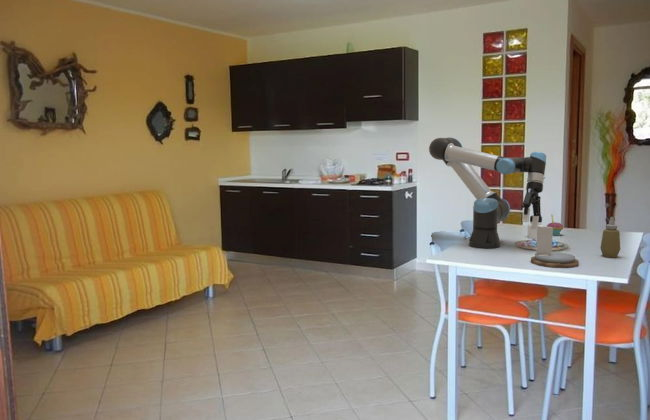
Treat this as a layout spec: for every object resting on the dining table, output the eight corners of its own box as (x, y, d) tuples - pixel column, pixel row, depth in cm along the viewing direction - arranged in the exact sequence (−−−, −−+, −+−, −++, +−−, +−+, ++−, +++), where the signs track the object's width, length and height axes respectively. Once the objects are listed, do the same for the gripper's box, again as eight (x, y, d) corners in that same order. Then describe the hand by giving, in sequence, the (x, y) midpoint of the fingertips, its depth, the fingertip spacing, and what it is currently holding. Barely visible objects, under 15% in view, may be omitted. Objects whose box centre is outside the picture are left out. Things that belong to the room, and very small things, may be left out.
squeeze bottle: (597, 256, 252) (599, 217, 250) (603, 253, 258) (605, 215, 255) (616, 259, 246) (618, 218, 244) (622, 256, 252) (624, 217, 250)
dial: (528, 259, 238) (529, 228, 237) (542, 253, 250) (544, 224, 249) (567, 264, 228) (568, 232, 226) (580, 258, 240) (581, 227, 238)
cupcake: (547, 235, 307) (548, 214, 306) (545, 233, 315) (546, 212, 314) (564, 236, 305) (565, 214, 304) (561, 233, 313) (562, 212, 312)
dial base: (523, 263, 238) (523, 259, 238) (540, 256, 252) (540, 252, 252) (569, 270, 226) (569, 265, 226) (584, 262, 240) (585, 258, 240)
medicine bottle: (543, 238, 298) (544, 216, 297) (529, 238, 300) (530, 216, 298) (541, 236, 305) (541, 214, 304) (527, 236, 307) (528, 214, 305)
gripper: (535, 174, 259) (529, 218, 255) (550, 191, 278) (545, 232, 273) (518, 175, 264) (513, 218, 259) (535, 191, 282) (530, 231, 278)
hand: (529, 225), depth 266 cm, fingers open, 13 cm apart
